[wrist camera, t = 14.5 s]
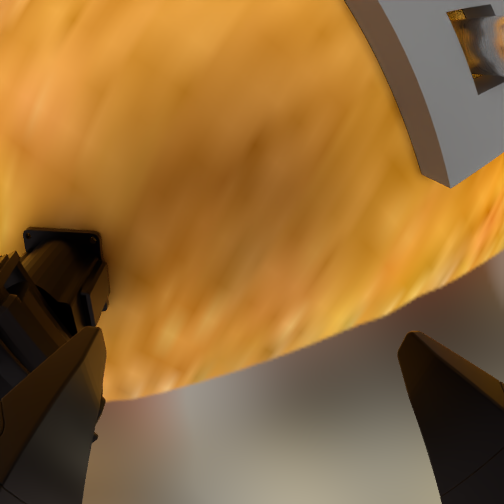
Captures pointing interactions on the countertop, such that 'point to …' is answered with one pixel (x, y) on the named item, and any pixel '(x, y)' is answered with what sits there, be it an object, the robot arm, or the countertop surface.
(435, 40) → the socket block
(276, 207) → the countertop surface
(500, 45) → the peg
